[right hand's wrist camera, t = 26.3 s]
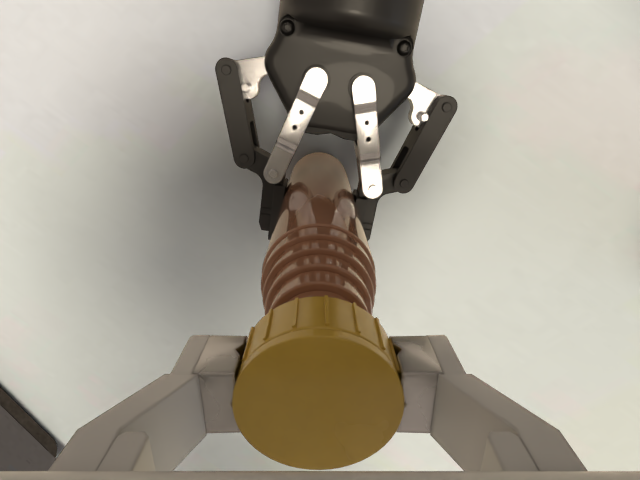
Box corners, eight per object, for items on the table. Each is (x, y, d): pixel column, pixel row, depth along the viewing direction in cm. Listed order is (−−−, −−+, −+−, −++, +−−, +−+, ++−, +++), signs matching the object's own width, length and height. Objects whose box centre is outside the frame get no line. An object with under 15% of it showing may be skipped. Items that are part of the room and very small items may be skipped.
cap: (295, 436, 12) (291, 493, 10) (212, 338, 10) (192, 385, 9) (418, 379, 11) (435, 430, 9) (344, 266, 10) (350, 302, 8)
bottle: (324, 217, 32) (336, 475, 11) (280, 186, 31) (195, 401, 10) (358, 174, 31) (445, 370, 9) (312, 140, 30) (296, 274, 8)
